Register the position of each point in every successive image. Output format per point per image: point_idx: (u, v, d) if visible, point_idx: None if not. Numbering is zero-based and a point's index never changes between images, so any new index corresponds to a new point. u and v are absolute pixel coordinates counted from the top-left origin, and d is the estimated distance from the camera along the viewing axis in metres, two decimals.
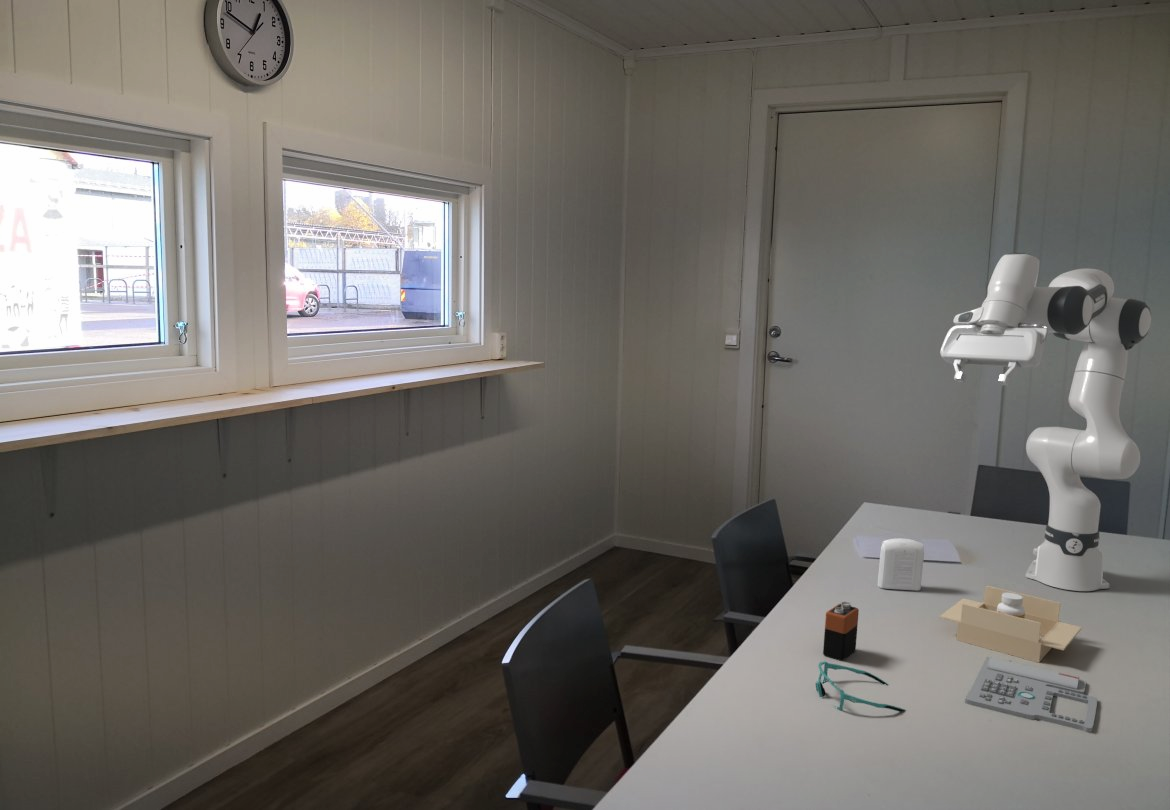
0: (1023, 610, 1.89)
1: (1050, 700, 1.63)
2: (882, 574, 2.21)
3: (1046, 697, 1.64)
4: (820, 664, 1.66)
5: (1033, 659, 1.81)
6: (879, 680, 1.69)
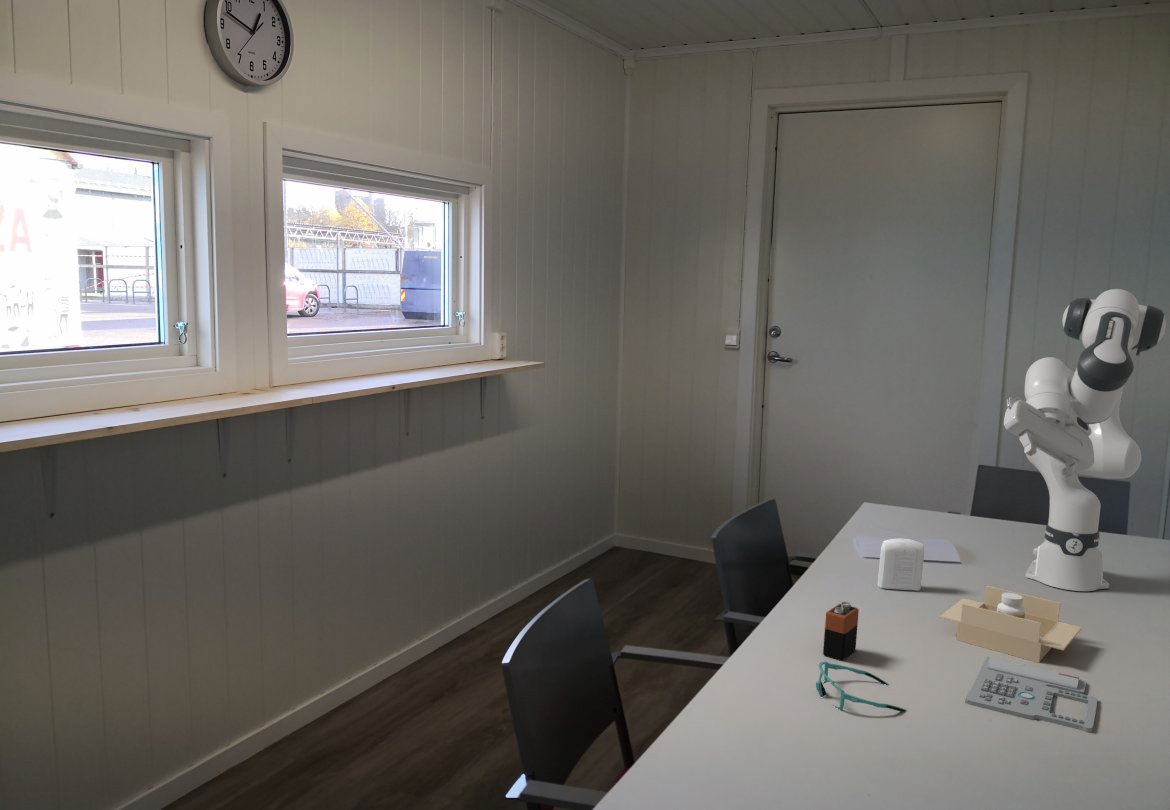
0: (1023, 610, 1.89)
1: (1050, 700, 1.63)
2: (882, 574, 2.21)
3: (1046, 697, 1.64)
4: (820, 664, 1.66)
5: (1033, 659, 1.81)
6: (879, 680, 1.69)
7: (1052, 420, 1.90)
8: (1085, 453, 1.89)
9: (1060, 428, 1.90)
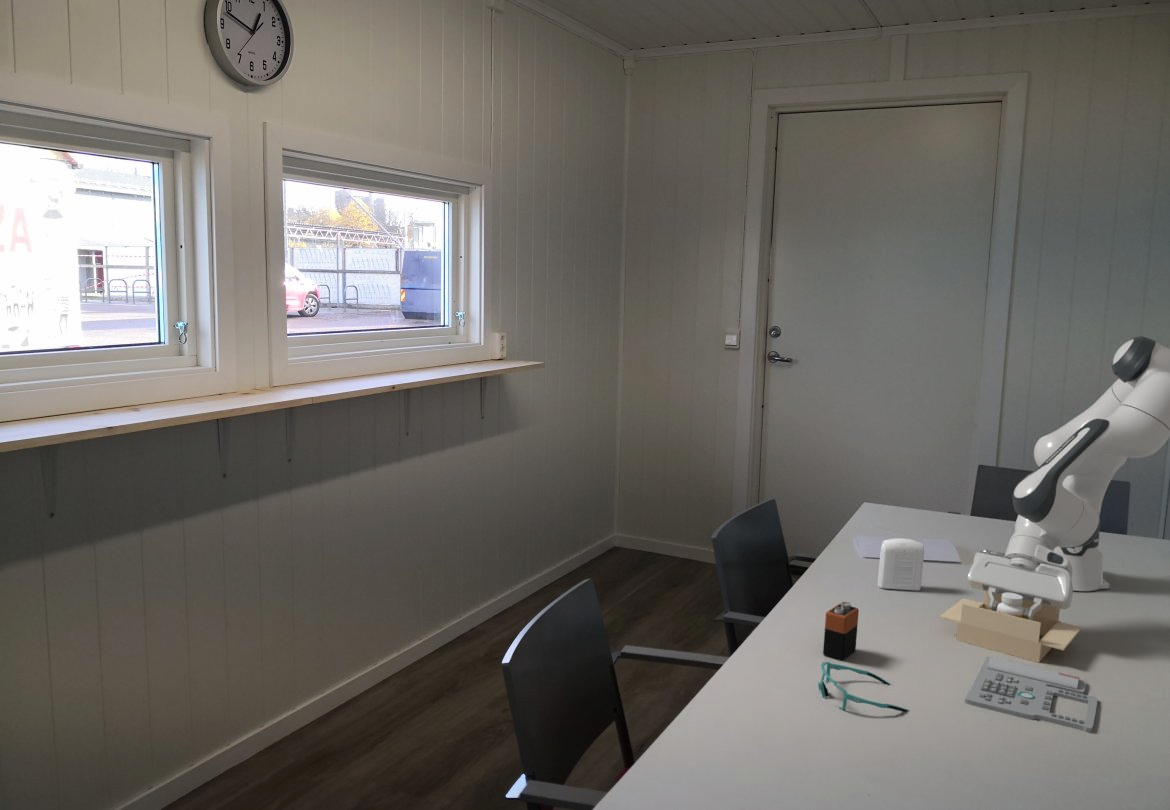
0: (1023, 610, 1.89)
1: (1050, 700, 1.63)
2: (882, 574, 2.21)
3: (1046, 697, 1.64)
4: (823, 664, 1.66)
5: (1033, 659, 1.81)
6: (882, 680, 1.69)
7: (1017, 565, 1.94)
8: (1057, 589, 1.88)
9: (1029, 570, 1.93)
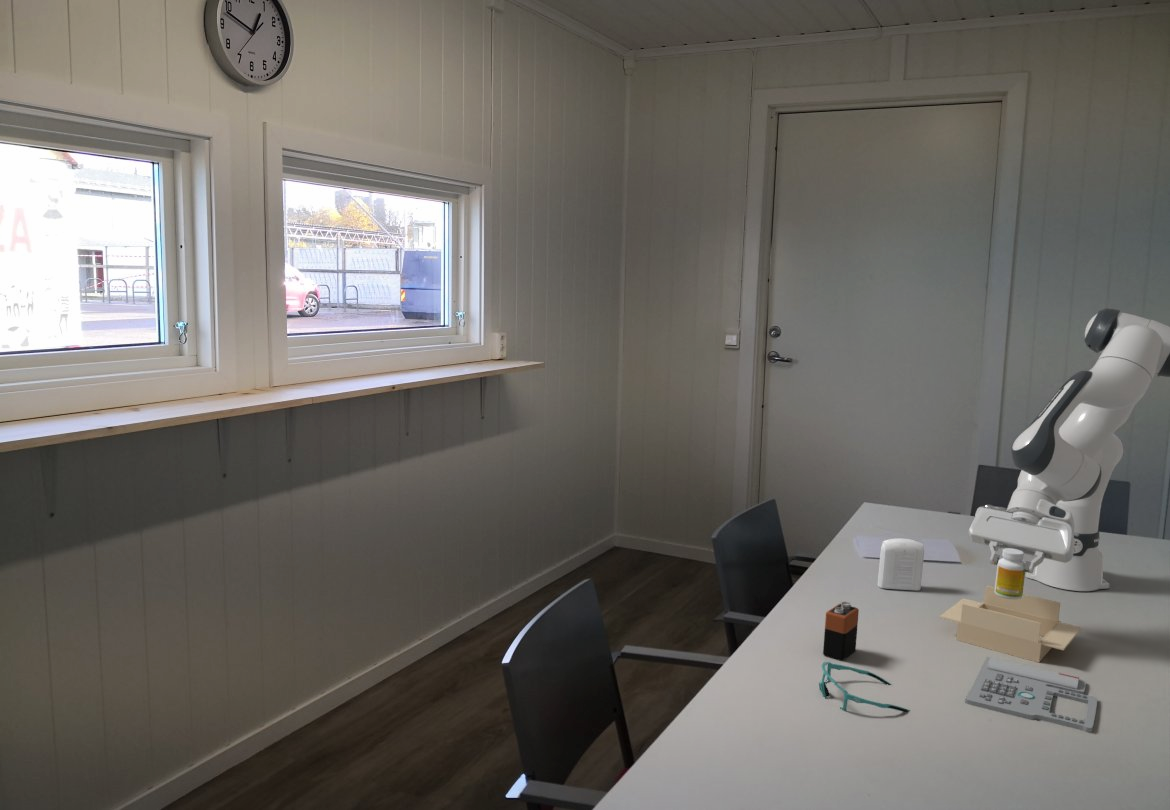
0: (1024, 565, 1.88)
1: (1050, 700, 1.63)
2: (882, 574, 2.21)
3: (1046, 697, 1.64)
4: (823, 664, 1.66)
5: (1033, 659, 1.81)
6: (882, 680, 1.69)
7: (1019, 519, 1.93)
8: (1059, 543, 1.87)
9: (1031, 524, 1.92)
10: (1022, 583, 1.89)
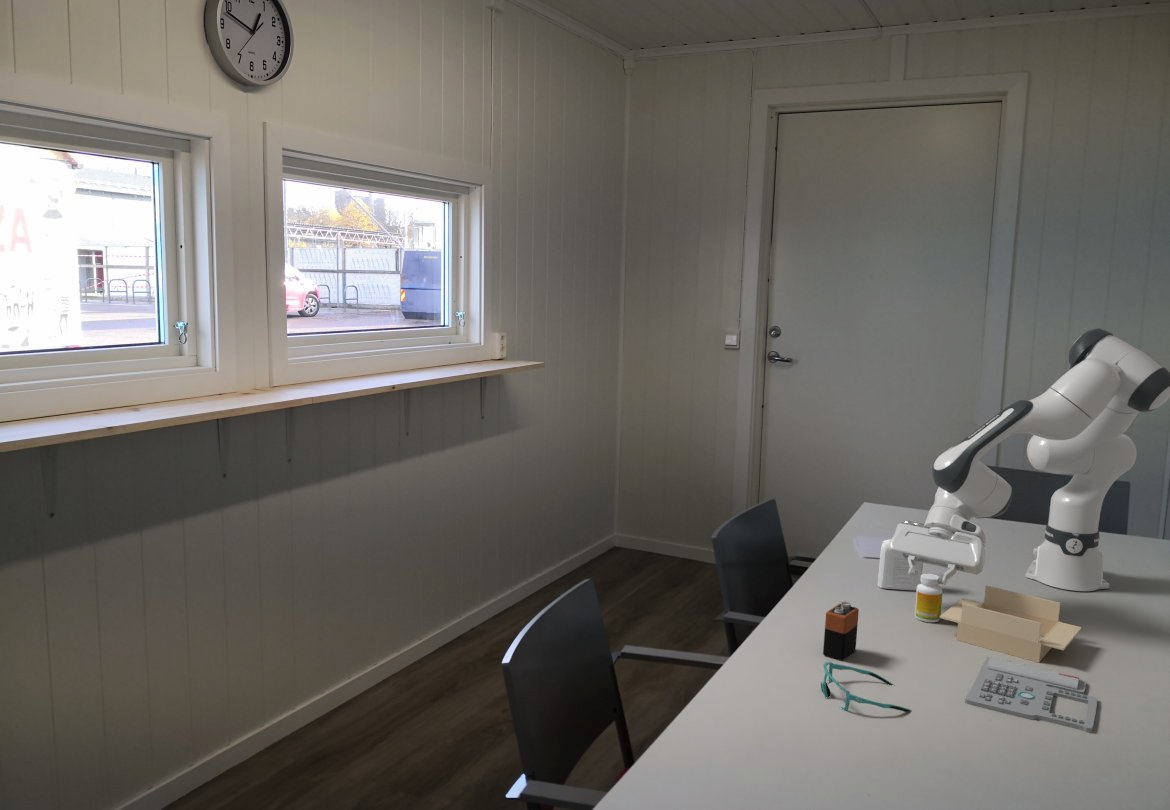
0: (940, 589, 2.00)
1: (1050, 700, 1.63)
2: (882, 574, 2.21)
3: (1046, 697, 1.64)
4: (825, 665, 1.66)
5: (1033, 659, 1.81)
6: (884, 680, 1.69)
7: (934, 534, 2.05)
8: (970, 555, 1.98)
9: (945, 538, 2.04)
10: (939, 606, 2.00)
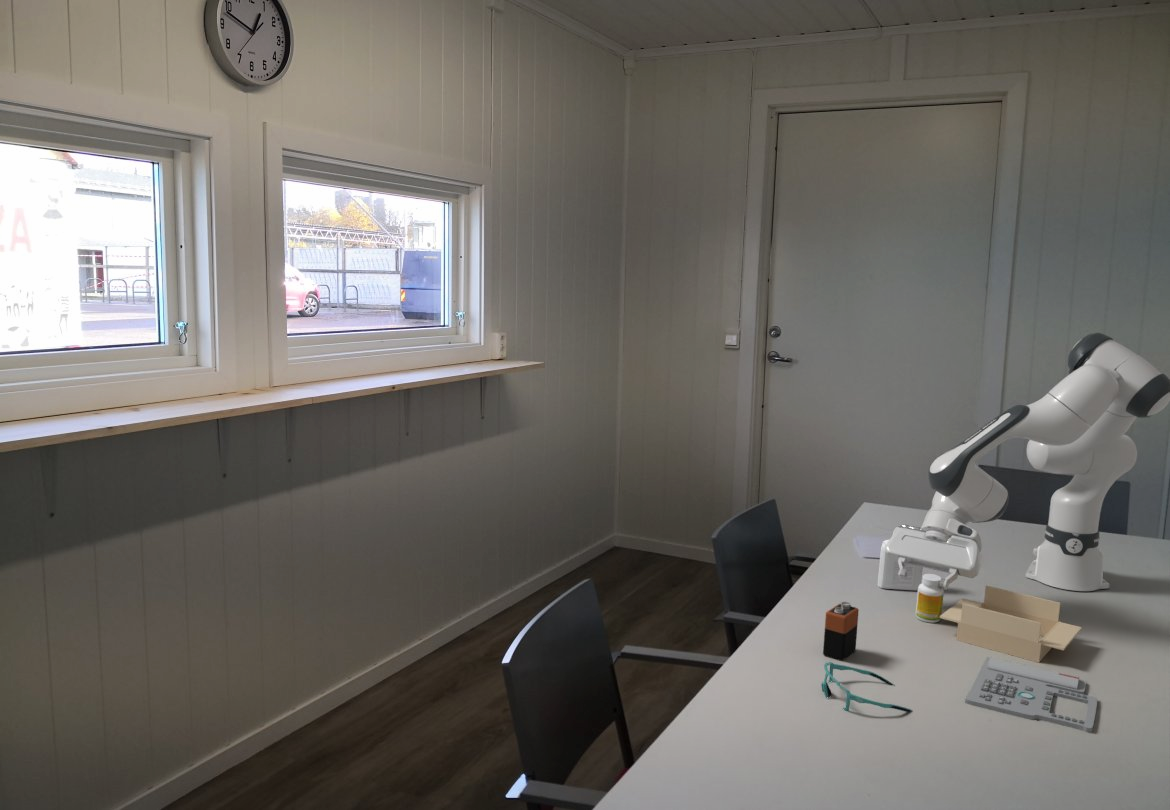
0: (942, 591, 1.99)
1: (1050, 700, 1.63)
2: (882, 574, 2.21)
3: (1046, 697, 1.64)
4: (826, 665, 1.66)
5: (1033, 659, 1.81)
6: (885, 680, 1.69)
7: (930, 537, 2.05)
8: (965, 559, 1.99)
9: (941, 542, 2.04)
10: (940, 607, 2.00)
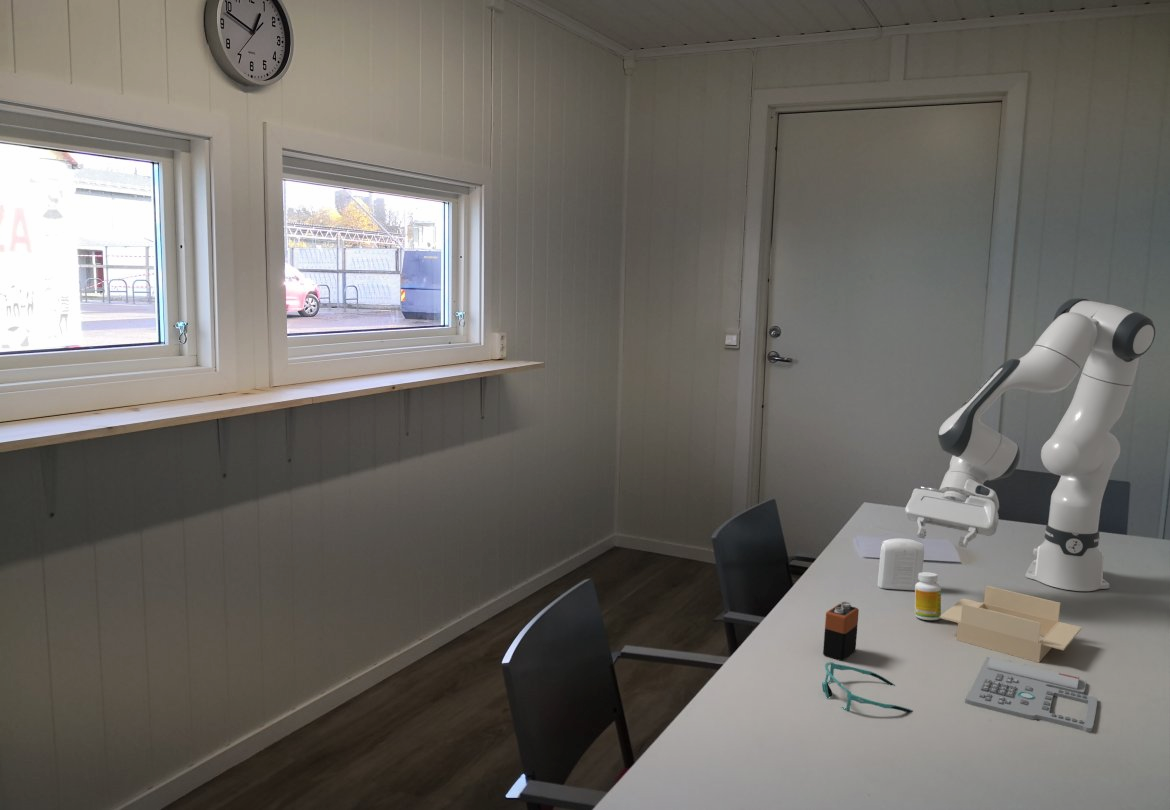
0: (938, 587, 2.00)
1: (1050, 700, 1.63)
2: (882, 574, 2.21)
3: (1046, 697, 1.64)
4: (826, 665, 1.66)
5: (1033, 659, 1.81)
6: (885, 680, 1.69)
7: (949, 498, 2.13)
8: (983, 518, 2.06)
9: (960, 502, 2.11)
10: (938, 604, 2.00)
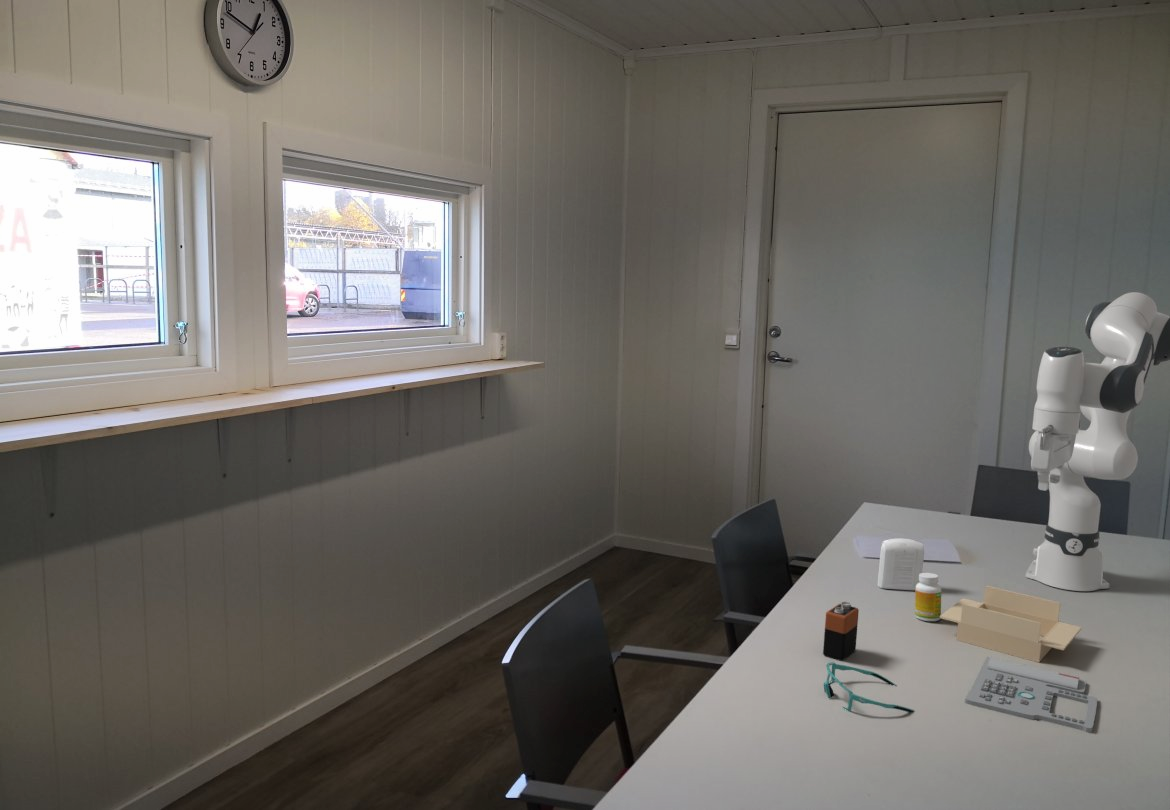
0: (937, 589, 2.00)
1: (1050, 700, 1.63)
2: (882, 574, 2.21)
3: (1046, 697, 1.64)
4: (828, 665, 1.66)
5: (1033, 659, 1.81)
6: (886, 681, 1.69)
7: None
8: (1070, 450, 2.01)
9: None
10: (937, 606, 2.00)
